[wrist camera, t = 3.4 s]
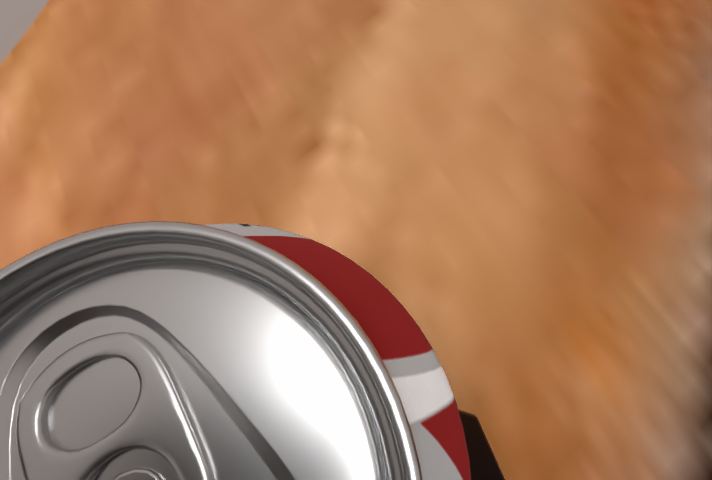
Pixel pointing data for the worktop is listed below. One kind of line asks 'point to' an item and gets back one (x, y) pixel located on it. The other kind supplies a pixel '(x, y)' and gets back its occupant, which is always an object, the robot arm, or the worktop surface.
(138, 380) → the soda can
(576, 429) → the worktop surface
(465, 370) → the worktop surface
